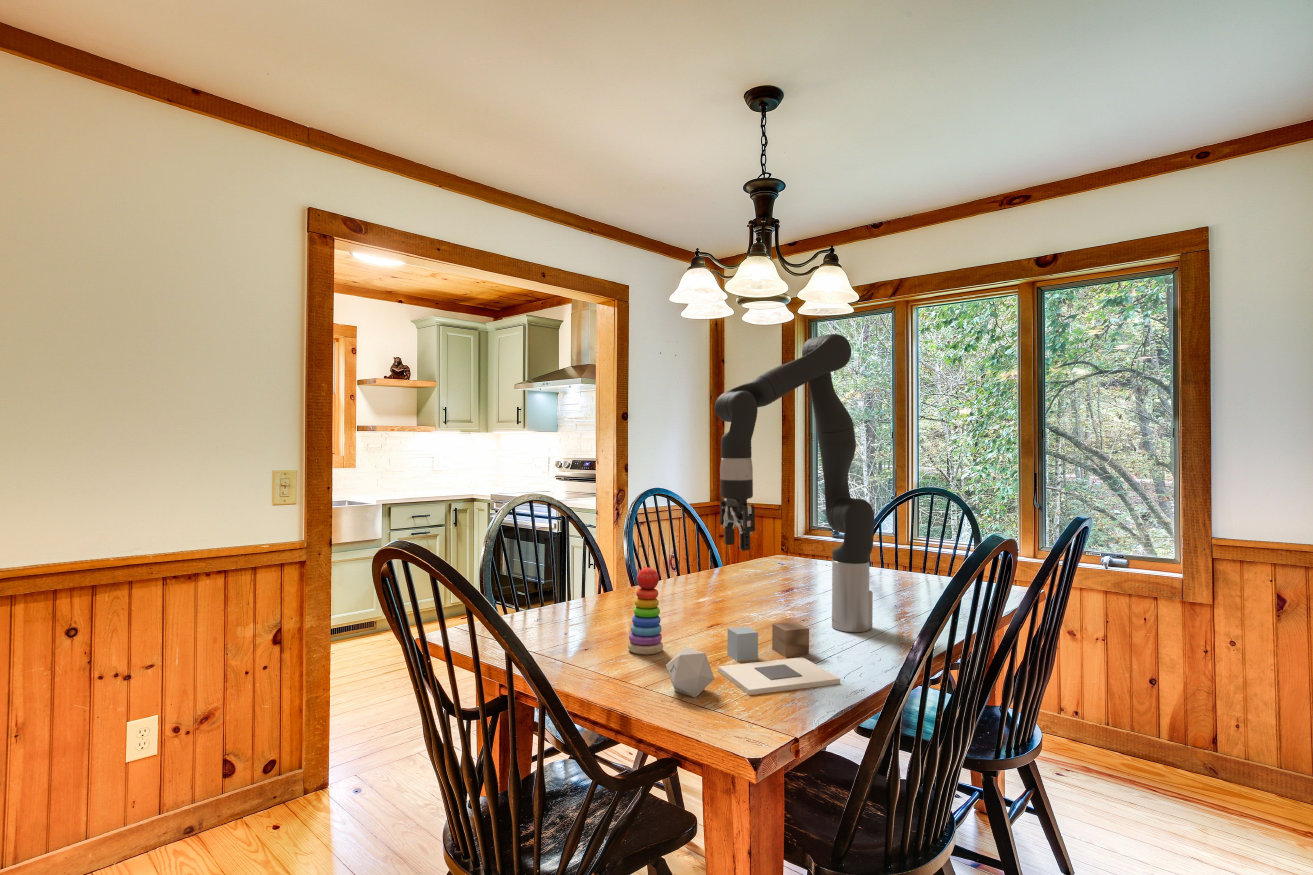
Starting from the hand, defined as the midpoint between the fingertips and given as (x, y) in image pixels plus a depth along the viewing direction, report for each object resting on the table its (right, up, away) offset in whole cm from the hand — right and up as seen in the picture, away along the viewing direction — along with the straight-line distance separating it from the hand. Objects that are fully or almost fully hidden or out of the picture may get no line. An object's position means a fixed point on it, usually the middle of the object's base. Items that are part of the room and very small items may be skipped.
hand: (737, 547), depth 160 cm
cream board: (+6, -23, -20) cm, 31 cm away
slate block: (0, -23, -8) cm, 24 cm away
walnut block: (+12, -23, -4) cm, 26 cm away
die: (-12, -23, -29) cm, 39 cm away
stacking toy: (-21, -23, -3) cm, 32 cm away
